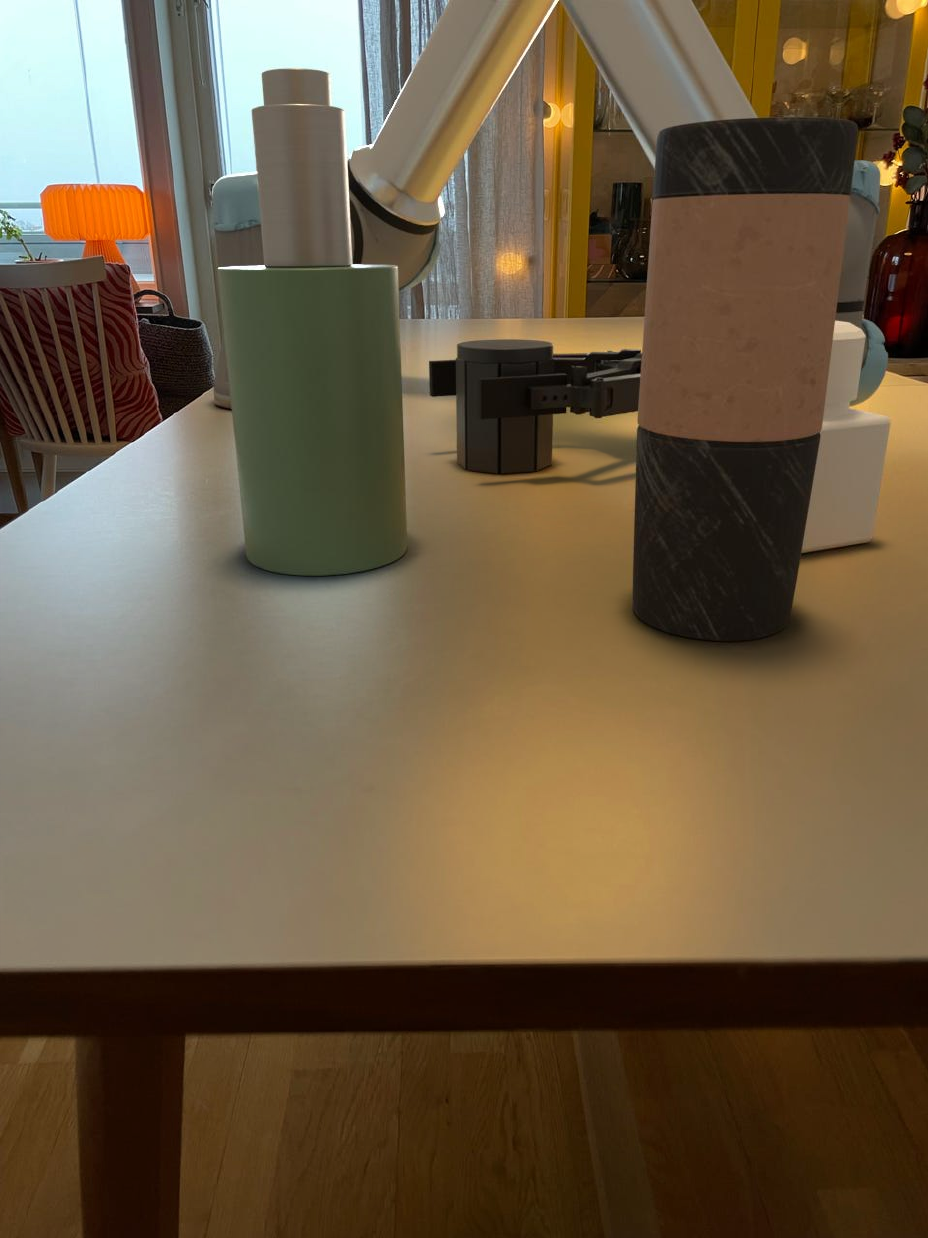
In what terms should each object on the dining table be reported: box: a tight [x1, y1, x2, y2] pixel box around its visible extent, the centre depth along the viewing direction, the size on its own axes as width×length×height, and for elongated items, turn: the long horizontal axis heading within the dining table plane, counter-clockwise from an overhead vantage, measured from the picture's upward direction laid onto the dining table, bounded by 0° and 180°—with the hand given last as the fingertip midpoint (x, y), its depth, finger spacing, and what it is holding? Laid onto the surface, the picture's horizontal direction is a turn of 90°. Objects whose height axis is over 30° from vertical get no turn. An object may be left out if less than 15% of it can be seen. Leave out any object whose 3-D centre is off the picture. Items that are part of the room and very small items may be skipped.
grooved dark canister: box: [455, 338, 555, 475], centre depth 71 cm, size 7×7×9 cm
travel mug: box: [632, 116, 859, 642], centre depth 40 cm, size 8×8×20 cm
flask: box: [217, 67, 408, 577], centre depth 48 cm, size 9×9×24 cm
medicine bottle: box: [801, 320, 892, 554], centre depth 52 cm, size 7×7×12 cm
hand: (453, 388), depth 70 cm, fingers open, 10 cm apart
